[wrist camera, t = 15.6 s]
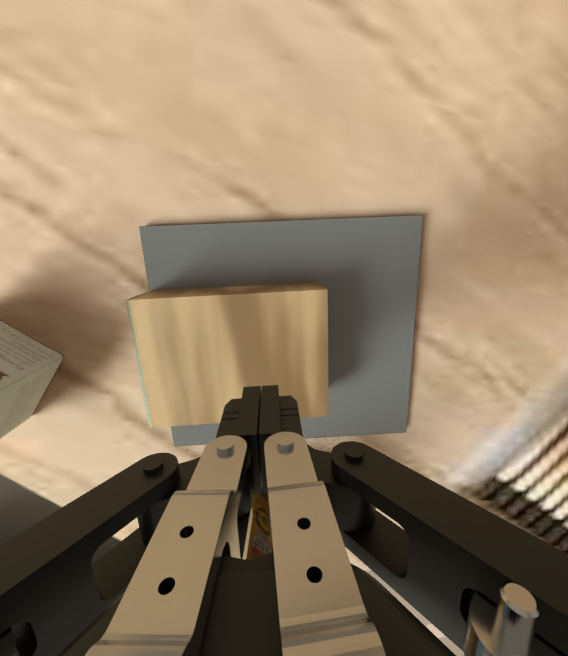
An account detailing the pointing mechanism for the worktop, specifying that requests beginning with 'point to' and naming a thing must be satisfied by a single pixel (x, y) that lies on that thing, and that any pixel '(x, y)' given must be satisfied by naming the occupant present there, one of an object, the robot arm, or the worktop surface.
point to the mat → (343, 302)
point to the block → (229, 348)
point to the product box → (22, 376)
